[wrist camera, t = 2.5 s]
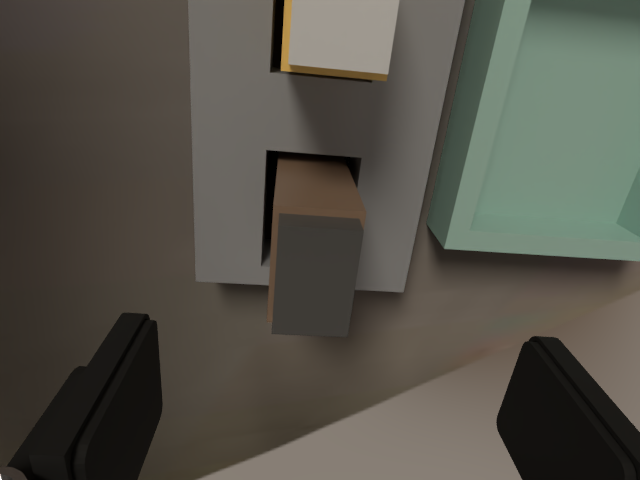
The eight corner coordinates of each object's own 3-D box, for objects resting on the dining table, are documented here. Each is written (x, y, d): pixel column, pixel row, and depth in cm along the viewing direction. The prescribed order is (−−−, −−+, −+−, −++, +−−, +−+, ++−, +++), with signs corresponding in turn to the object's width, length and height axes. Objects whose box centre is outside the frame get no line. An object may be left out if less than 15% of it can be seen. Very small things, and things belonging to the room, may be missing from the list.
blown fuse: (279, 145, 21) (271, 217, 13) (341, 150, 21) (371, 224, 13) (274, 230, 23) (265, 339, 15) (331, 234, 23) (352, 343, 15)
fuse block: (201, -126, 16) (183, -157, 14) (457, -91, 17) (488, -113, 15) (207, 252, 23) (195, 281, 20) (391, 263, 24) (403, 292, 21)
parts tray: (490, -71, 18) (526, -89, 15) (735, -37, 19) (811, -49, 16) (426, 223, 23) (444, 248, 21) (618, 236, 24) (659, 262, 22)
